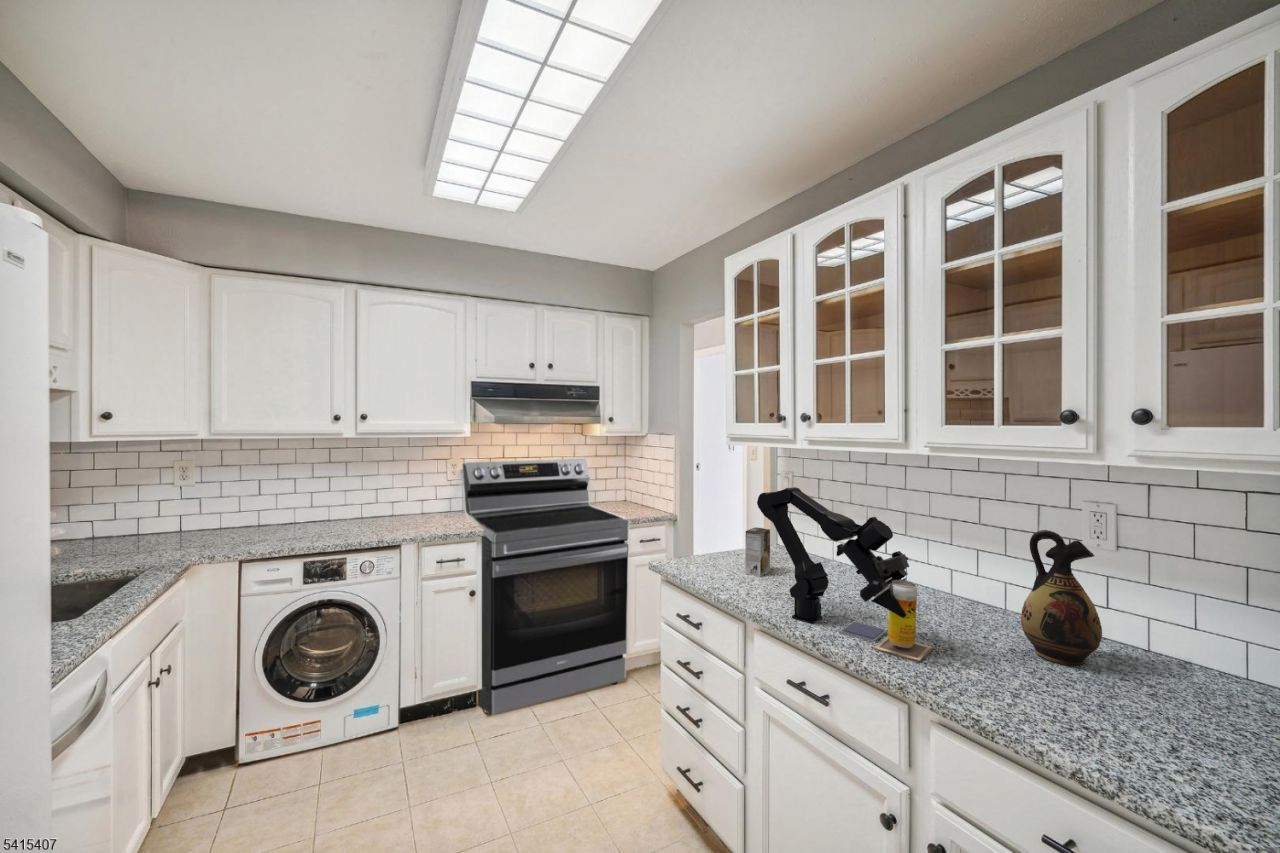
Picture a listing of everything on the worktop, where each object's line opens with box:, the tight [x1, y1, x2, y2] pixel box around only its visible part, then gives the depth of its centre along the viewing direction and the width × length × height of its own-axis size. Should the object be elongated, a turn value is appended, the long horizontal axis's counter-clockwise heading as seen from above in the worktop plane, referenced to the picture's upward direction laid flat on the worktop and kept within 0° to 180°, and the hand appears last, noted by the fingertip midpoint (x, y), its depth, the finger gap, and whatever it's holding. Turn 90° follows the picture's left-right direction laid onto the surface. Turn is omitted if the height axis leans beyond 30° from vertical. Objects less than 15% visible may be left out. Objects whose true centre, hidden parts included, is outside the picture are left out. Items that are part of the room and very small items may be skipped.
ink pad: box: [839, 621, 888, 643], centre depth 145 cm, size 9×9×1 cm
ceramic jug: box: [1020, 529, 1103, 667], centre depth 131 cm, size 17×15×30 cm
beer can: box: [887, 579, 918, 648], centre depth 135 cm, size 6×6×15 cm
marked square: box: [872, 635, 935, 664], centre depth 135 cm, size 11×11×1 cm
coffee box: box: [744, 526, 771, 577], centre depth 203 cm, size 9×6×16 cm
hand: (908, 613), depth 134 cm, fingers closed on beer can, 6 cm apart
